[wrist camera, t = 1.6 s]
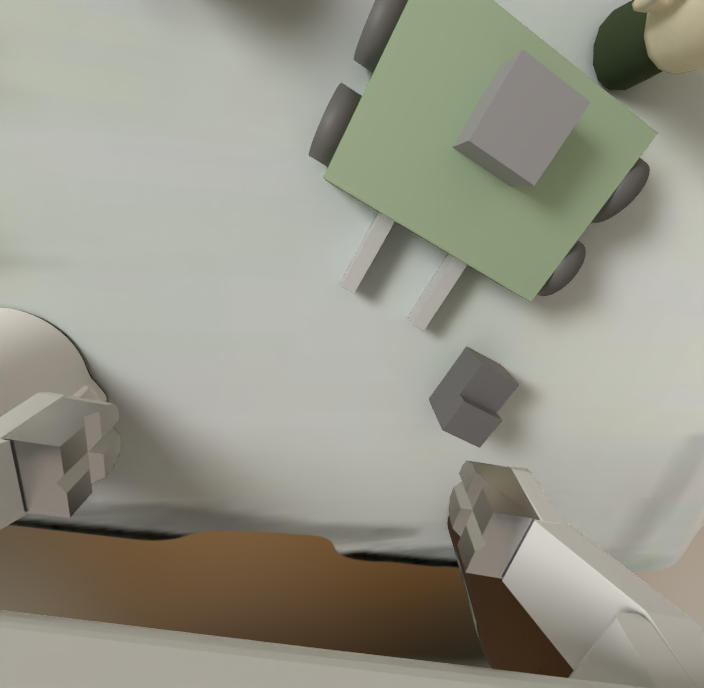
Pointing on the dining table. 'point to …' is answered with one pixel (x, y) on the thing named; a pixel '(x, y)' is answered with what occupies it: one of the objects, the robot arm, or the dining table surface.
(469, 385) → the grey stepped block
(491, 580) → the olive oil
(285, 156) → the dining table surface
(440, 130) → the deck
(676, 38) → the character mug
